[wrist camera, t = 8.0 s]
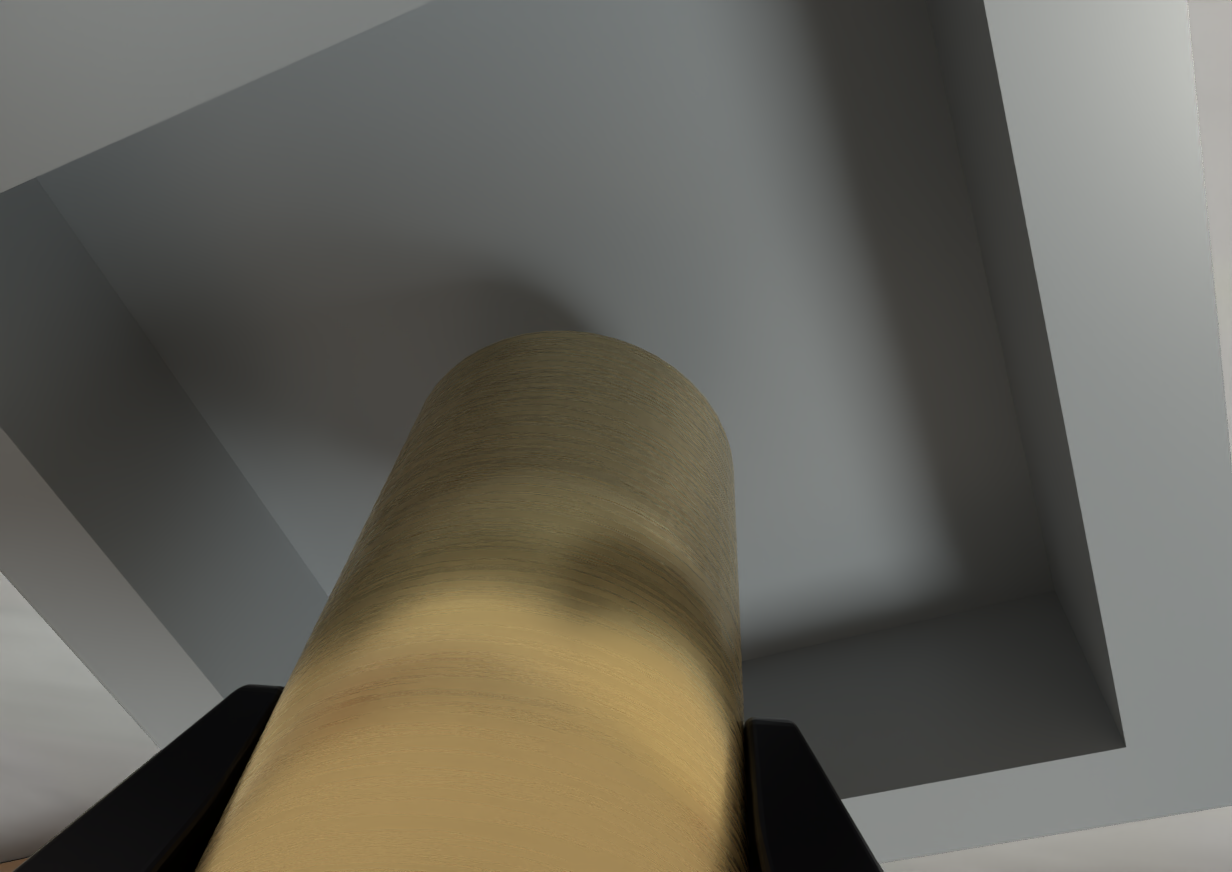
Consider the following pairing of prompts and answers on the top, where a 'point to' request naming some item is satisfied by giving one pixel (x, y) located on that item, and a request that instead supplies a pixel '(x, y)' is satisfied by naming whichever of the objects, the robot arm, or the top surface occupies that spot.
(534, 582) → the brass pin
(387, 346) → the grey tray
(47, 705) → the top surface
